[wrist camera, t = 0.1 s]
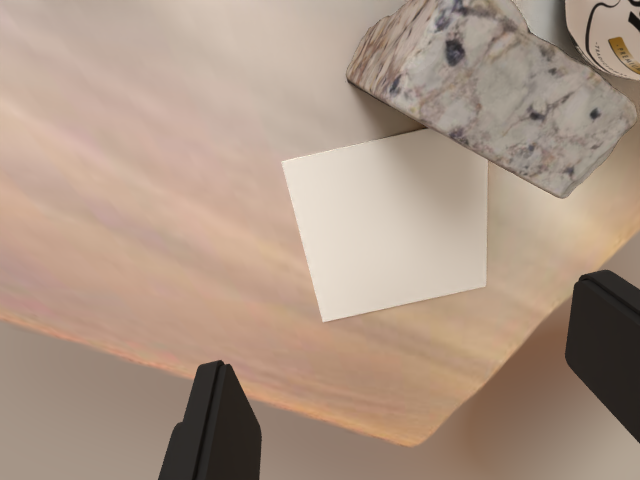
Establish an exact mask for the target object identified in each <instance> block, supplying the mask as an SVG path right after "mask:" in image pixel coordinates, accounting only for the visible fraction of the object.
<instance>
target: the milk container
mask: <svg viewBox="0 0 640 480" xmlns="http://www.w3.org/2000/svg"><path fill="white" fill-rule="evenodd" d="M565 19H566V25H567V29H568V32H569V34H570V36H571V39H572V41H573V43H574V45H575V47H576V49H577V51H578V52H579V53H580V54H581V55H582V57H583V58H584V59H585V60H586V61H587V62H588V63H590V64H591V65H592V66H594V67H595V68H597V69H599V70H601V71H604V72H606V73H609V74H611V75H615V76H618V77H622V78H626V79H632V80H640V0H565Z"/></svg>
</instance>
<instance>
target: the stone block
mask: <svg viewBox="0 0 640 480" xmlns="http://www.w3.org/2000/svg"><path fill="white" fill-rule="evenodd" d="M346 77H347V81H348V82H349V83H351V84H353V85H354V86H356V87H357V88H359V89H360V90H362V91H364V92H366V93H368V94H370V95H371V96H373V97H374V98H376V99H378V100H379V101H381V102H383V103H385V104H387V105H388V106H390V107H393V108H395V109H397V110H398V111H400V112H402V113H403V114H405V115H406V116H408V117H410V118H412V119H414V120H416V121H418V122H419V123H421V124H423V125H425V126H426V127H428V128H430V129H432V130H434V131H436V132H438V133H440V134H442V135H444V136H445V137H447V138H449V139H451V140H452V141H454V142H456V143H458V144H459V145H461V146H463V147H465V148H467V149H469V150H470V151H473V152H474V153H476V154H478V155H480V156H482V157H484V158H485V159H487V160H489V161H491V162H493V163H495V164H496V165H498V166H500V167H502V168H504V169H506V170H508V171H509V172H511V173H513V174H515V175H517V176H519V177H520V178H522V179H524V180H526V181H528V182H529V183H531V184H533V185H535V186H537V187H538V188H540V189H542V190H544V191H546V192H548V193H550V194H552V195H554V196H555V197H558V198H566V197H568V196H569V195H570V194H571V192H572V191H573V190H574V189H575V188H576V187H577V186H578V185H579V184H581V183H582V182H583V181H584V180H585V179H586V178H587V177H588V176H589V175H590V174H591V173H592V172H593V171H594V170H595V169H596V168H597V167H598V166H599V165H601V164H602V163H603V162H604V161H605V160H606V159H607V157H608V156H609V155H610V154H611V152H612V151H613V149H614V147H615V146H616V144H617V142H618V141H619V139H620V138H621V137H622V136H623V135H624V134H625V133H626V132H627V131H628V130H629V129H631V128H632V127H633V126H634V125H635V123H636V121H637V113H636V106H635V105H634V103H632V102H631V101H630V100H629V98H628V97H627V96H625V95H624V94H622V93H621V92H620V91H618V90H617V89H615V88H614V87H612V86H611V84H610V83H609V82H608V81H607V80H606V79H604V78H603V77H602V76H601V75H599V74H598V73H597V72H596V71H594V70H593V69H592V68H591V67H589V66H588V65H586V64H584V63H582V62H580V61H578V60H576V59H574V58H571V57H570V56H569V55H567V54H566V53H565V52H564V51H563V50H561V49H560V48H558V47H556V46H555V45H553V44H551V43H549V42H547V41H545V40H543V39H541V38H538V37H537V36H536V35H534V34H533V33H531V32H530V30H529V28H528V26H527V24H526V21H525V19H524V18H523V16H522V14H521V12H520V11H519V9H518V8H517V6H516V5H515V4H514V3H513V2H512V1H511V0H409V1H408V2H407V3H406V4H405V5H403V6H402V7H401V8H400V9H399V10H398V11H397V12H396V13H395V14H393V15H391V16H386V17H385V18H383V19H382V20H380V21H379V22H378V23H376V25H374V26H373V27H370V28H369V29H368V31H367V33H366V35H365V36H364V37H363V38H362V40H361V42H360V44H359V47H358V48H357V50H356V52H355V54H354V56H353V59H352V62H351V63H350V65H349V67H348V68H347V72H346Z"/></svg>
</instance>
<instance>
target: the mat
mask: <svg viewBox="0 0 640 480" xmlns="http://www.w3.org/2000/svg"><path fill="white" fill-rule="evenodd" d="M282 166H283V170H284V174H285V177H286V181H287V185H288V189H289V193H290V197H291V201H292V205H293V208H294V212H295V216H296V220H297V224H298V228H299V232H300V235H301V239H302V243H303V247H304V251H305V255H306V259H307V263H308V266H309V270H310V274H311V278H312V282H313V286H314V290H315V293H316V297H317V301H318V305H319V309H320V313H321V317H322V321H323V322H327V321H331V320H336V319H340V318H345V317H349V316H354V315H359V314H363V313H368V312H372V311H377V310H381V309H386V308H390V307H395V306H399V305H404V304H409V303H413V302H418V301H422V300H427V299H431V298H436V297H440V296H445V295H449V294H454V293H459V292H463V291H468V290H472V289H477V288H481V287H486V267H487V201H488V160H487V159H485V158H484V157H482V156H480V155H478V154H476V153H474V152H473V151H470V150H469V149H467V148H465V147H463V146H461V145H459V144H458V143H456V142H454V141H452V140H451V139H449V138H447V137H445V136H444V135H442V134H440V133H438V132H436V131H434V130H432V129H430V128H426V129H421V130H417V131H413V132H408V133H404V134H399V135H395V136H391V137H386V138H382V139H377V140H373V141H369V142H364V143H360V144H355V145H351V146H347V147H342V148H338V149H333V150H329V151H325V152H320V153H316V154H311V155H307V156H303V157H298V158H294V159H289V160H285V161H282Z"/></svg>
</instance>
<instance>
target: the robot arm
mask: <svg viewBox="0 0 640 480" xmlns="http://www.w3.org/2000/svg"><path fill="white" fill-rule="evenodd" d="M565 358H566V361H567V363H568V365H569V367H570V368H571V369H572V370H573V371H574V373H575V374H576V375H577V376H578V377H579V378H580V379H581V380H582V381H583V382H584V383H585V384H586V386H587V387H588V388H589V389H590V390H591V391H592V392H593V393H594V394H595V395H596V396H597V398H598V399H599V400H600V401H601V402H602V403H603V404H604V405H605V406H606V407H607V408H608V409H609V411H610V412H611V413H612V414H613V415H614V416H615V417H616V418H617V419H618V420H619V421H620V423H621V424H622V425H623V426H624V427H625V428H626V429H627V430H628V431H629V432H630V433H631V435H632V436H633V437H634V438H635V439H636V440H637V441H638V442H639V443H640V290H639V289H638V288H636V287H635V286H633V285H632V284H630V283H629V282H627V281H626V280H624V279H623V278H621V277H619V276H618V275H617V274H615V273H613V272H611V271H609V270H602V271H597V272H593V273H589V274H585V275H582V276H581V277H580V278H579V281H578V282H576V283H575V285H574V290H573V298H572V305H571V313H570V321H569V328H568V336H567V343H566V351H565ZM261 438H262V436H261V429H260V425H259V423H258V421H257V419H256V417H255V415H254V412H253V410H252V408H251V406H250V404H249V402H248V400H247V398H246V396H245V394H244V391H243V389H242V387H241V385H240V383H239V381H238V379H237V377H236V375H235V372H234V370H233V368H232V366H231V365H230V364H226V365H225V364H224V362H223V361H222V360H219V361H214V362H210V363H206V364H202V365H200V366H199V367H198V369H197V372H196V376H195V379H194V383H193V386H192V390H191V394H190V397H189V401H188V404H187V408H186V411H185V415H184V419H183V422H180V423H178V424H177V425H176V426H175V427H174V430H173V432H172V435H171V438H170V441H169V445H168V448H167V451H166V455H165V458H164V461H163V465H162V468H161V471H160V475H159V478H158V480H259V474H260V457H261V441H262V439H261Z"/></svg>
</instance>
